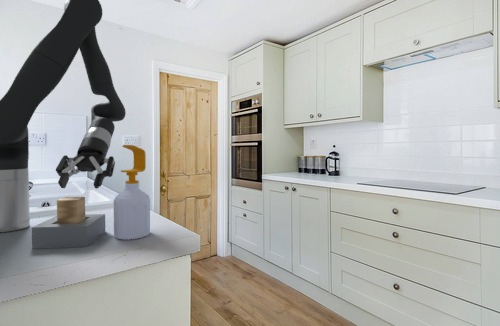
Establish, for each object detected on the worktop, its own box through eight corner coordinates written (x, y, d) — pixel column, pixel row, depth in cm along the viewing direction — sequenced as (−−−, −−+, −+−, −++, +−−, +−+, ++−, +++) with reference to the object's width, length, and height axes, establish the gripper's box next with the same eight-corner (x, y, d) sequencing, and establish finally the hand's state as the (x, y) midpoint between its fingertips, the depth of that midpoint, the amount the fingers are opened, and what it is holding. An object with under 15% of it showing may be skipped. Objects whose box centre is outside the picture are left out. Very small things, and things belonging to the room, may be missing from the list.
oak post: (57, 238, 69) (56, 200, 69) (66, 232, 74) (66, 197, 73) (77, 237, 70) (76, 200, 69) (85, 232, 74) (85, 196, 74)
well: (32, 248, 65) (31, 227, 65) (59, 232, 77) (58, 214, 76) (87, 246, 67) (87, 226, 66) (105, 231, 79) (105, 214, 78)
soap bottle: (106, 237, 74) (105, 144, 72) (133, 228, 82) (133, 145, 81) (131, 242, 70) (130, 145, 69) (157, 232, 78) (156, 145, 77)
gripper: (66, 135, 82) (44, 177, 72) (117, 136, 85) (103, 178, 74) (74, 152, 88) (55, 194, 77) (122, 153, 90) (110, 194, 79)
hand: (79, 186), depth 75 cm, fingers open, 8 cm apart
